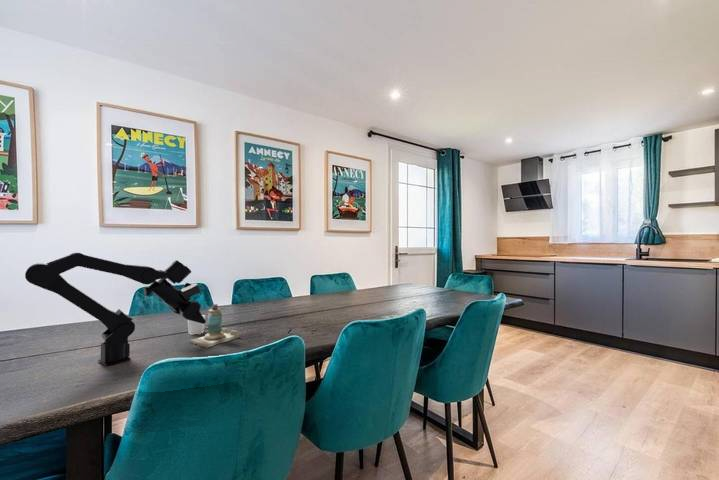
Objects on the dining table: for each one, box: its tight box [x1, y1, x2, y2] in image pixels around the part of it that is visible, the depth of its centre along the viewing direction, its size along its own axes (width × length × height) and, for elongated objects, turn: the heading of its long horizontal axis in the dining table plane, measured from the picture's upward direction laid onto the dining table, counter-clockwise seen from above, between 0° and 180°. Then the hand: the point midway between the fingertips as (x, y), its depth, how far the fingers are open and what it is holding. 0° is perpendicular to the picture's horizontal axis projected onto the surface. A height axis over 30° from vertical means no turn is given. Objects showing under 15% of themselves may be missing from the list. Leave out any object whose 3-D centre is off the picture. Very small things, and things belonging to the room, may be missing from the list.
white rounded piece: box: [186, 314, 206, 336], centre depth 132 cm, size 7×7×7 cm
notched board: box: [189, 327, 239, 348], centre depth 123 cm, size 14×10×2 cm
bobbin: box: [204, 304, 224, 340], centre depth 123 cm, size 7×7×12 cm
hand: (200, 320), depth 119 cm, fingers open, 9 cm apart
